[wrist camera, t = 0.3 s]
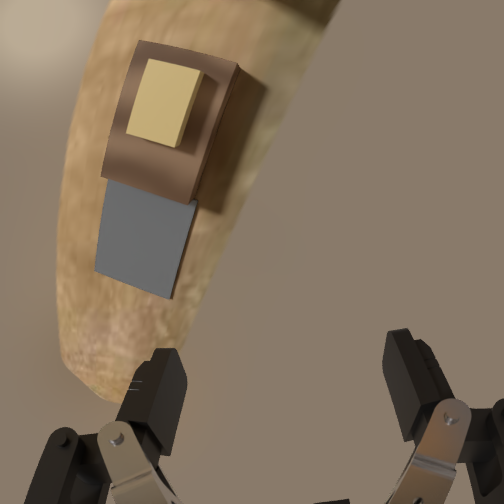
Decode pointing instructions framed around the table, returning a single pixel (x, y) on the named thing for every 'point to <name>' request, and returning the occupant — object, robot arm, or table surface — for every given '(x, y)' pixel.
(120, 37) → the table surface
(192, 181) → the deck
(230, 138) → the table surface
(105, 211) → the mat
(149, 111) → the yellow block
